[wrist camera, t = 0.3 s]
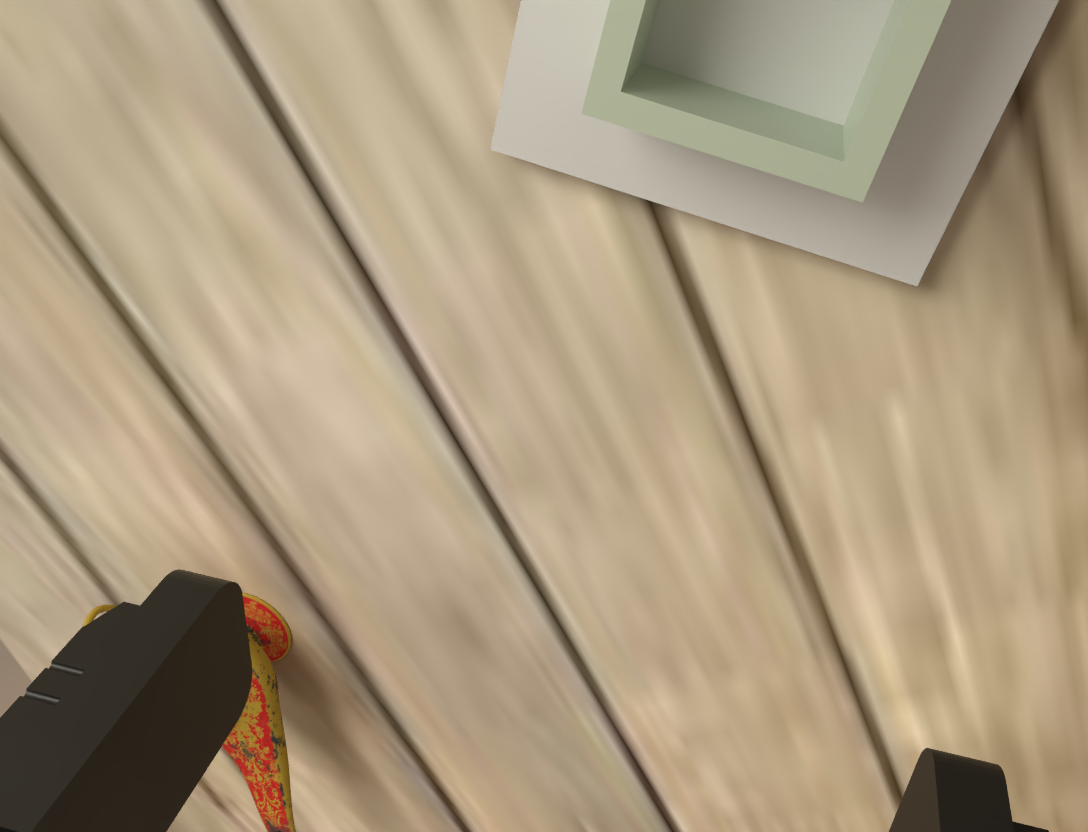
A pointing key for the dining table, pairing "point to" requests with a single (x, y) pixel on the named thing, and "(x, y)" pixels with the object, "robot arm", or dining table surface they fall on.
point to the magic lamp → (260, 717)
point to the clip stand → (774, 110)
